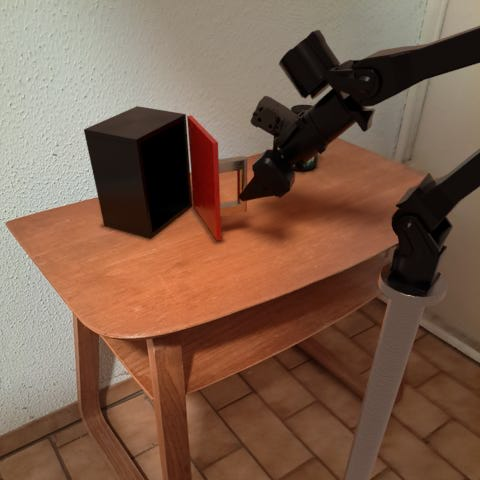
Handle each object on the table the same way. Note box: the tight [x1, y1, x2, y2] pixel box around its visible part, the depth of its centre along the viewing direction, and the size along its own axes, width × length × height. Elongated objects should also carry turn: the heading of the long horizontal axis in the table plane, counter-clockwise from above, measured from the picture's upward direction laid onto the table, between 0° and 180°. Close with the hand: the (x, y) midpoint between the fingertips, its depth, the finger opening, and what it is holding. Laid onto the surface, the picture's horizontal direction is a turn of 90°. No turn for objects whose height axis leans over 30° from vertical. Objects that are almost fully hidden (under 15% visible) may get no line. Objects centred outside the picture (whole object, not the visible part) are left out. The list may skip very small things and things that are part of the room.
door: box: [186, 115, 248, 242], centre depth 79 cm, size 6×14×16 cm, turn 21°
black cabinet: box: [83, 105, 194, 239], centre depth 80 cm, size 10×14×17 cm
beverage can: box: [290, 104, 319, 172], centre depth 99 cm, size 7×7×12 cm
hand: (248, 187), depth 78 cm, fingers open, 9 cm apart
